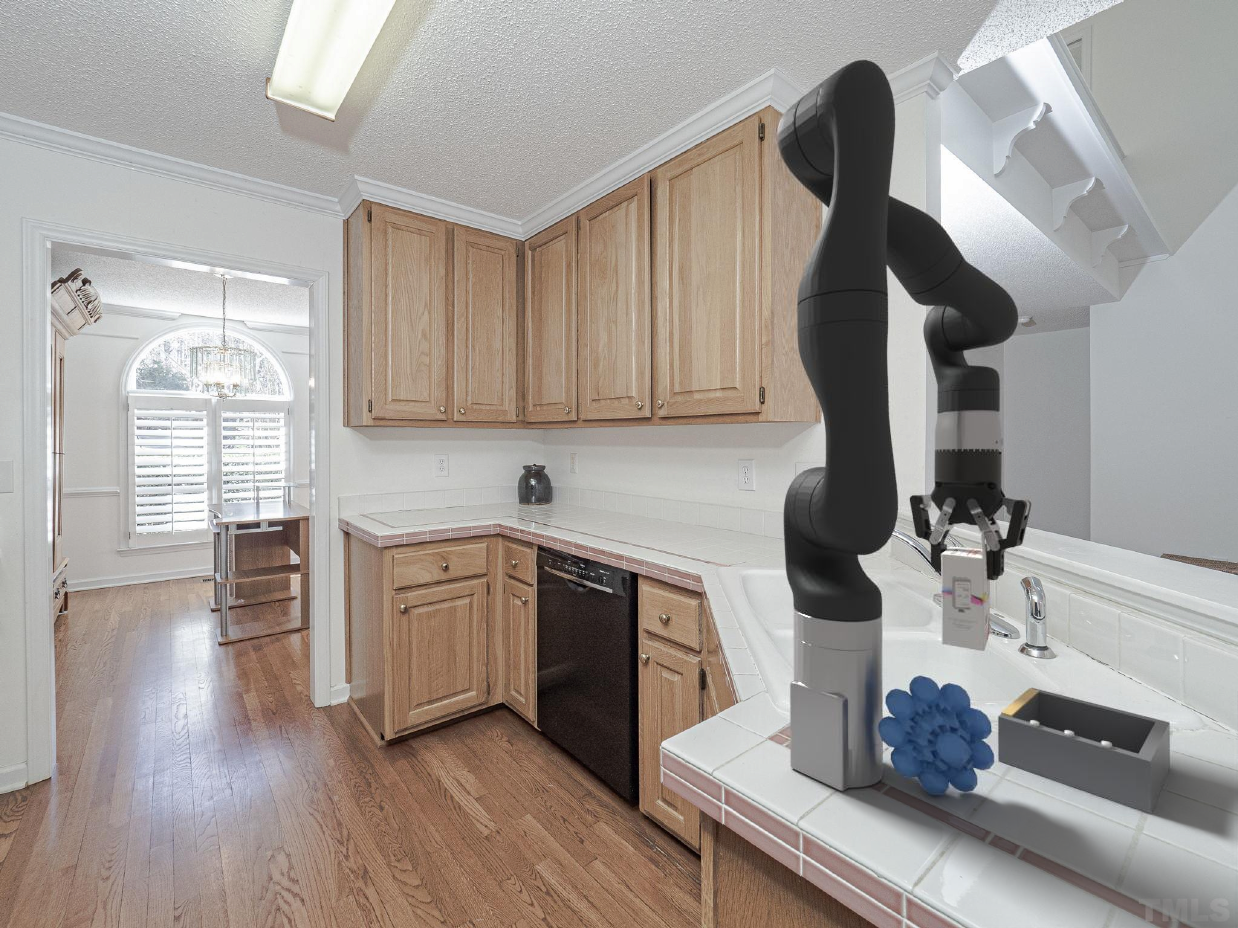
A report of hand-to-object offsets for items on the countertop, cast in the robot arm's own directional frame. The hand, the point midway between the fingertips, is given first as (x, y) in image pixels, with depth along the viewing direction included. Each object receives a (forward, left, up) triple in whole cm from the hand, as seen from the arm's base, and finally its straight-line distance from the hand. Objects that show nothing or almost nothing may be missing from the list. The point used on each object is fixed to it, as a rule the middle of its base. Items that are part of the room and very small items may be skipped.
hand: (966, 574), depth 74 cm
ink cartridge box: (0, 0, -9) cm, 9 cm away
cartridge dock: (-3, -13, -19) cm, 23 cm away
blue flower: (-22, -5, -19) cm, 29 cm away
